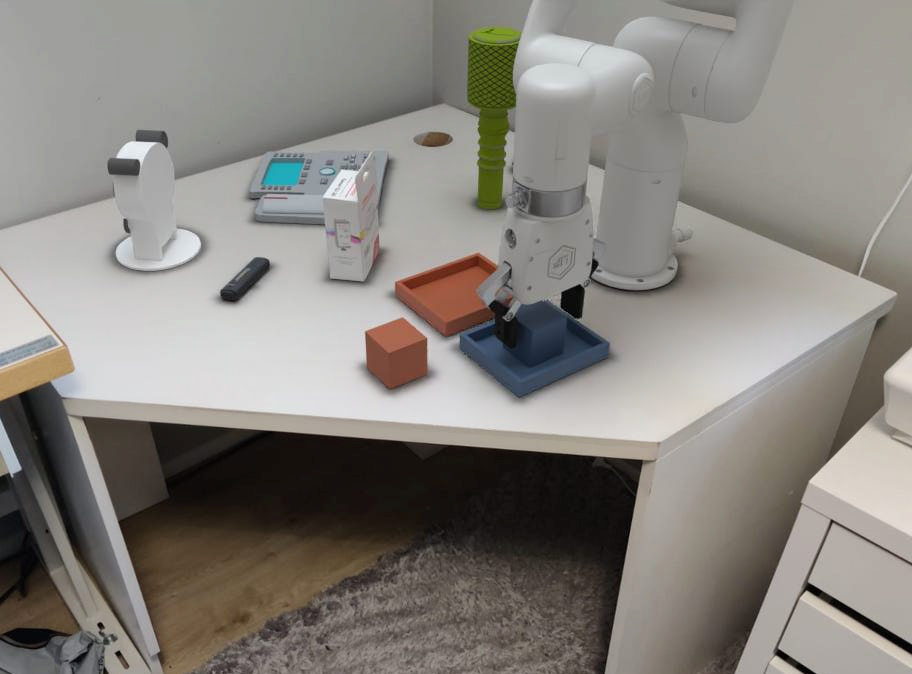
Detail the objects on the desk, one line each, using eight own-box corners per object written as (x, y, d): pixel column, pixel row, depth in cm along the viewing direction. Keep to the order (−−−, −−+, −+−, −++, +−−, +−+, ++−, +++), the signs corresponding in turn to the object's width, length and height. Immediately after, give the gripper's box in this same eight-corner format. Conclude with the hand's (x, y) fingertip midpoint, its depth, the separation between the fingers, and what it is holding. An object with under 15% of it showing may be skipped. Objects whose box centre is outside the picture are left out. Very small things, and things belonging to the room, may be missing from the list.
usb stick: (255, 263, 119) (253, 253, 118) (272, 267, 119) (271, 257, 118) (218, 299, 112) (216, 289, 111) (236, 303, 112) (235, 292, 111)
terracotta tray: (478, 265, 119) (478, 252, 118) (531, 302, 112) (532, 289, 110) (395, 295, 113) (394, 281, 112) (445, 336, 106) (445, 322, 105)
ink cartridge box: (345, 247, 123) (338, 146, 114) (380, 251, 122) (376, 149, 113) (327, 279, 116) (318, 174, 107) (364, 283, 115) (358, 177, 106)
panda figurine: (136, 225, 128) (113, 124, 118) (212, 230, 127) (195, 128, 117) (102, 268, 118) (74, 162, 109) (185, 273, 117) (164, 166, 108)
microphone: (458, 211, 131) (461, 36, 116) (472, 189, 137) (477, 20, 121) (510, 219, 129) (521, 42, 114) (523, 196, 135) (535, 26, 119)
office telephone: (375, 211, 126) (235, 208, 127) (376, 227, 128) (238, 224, 128) (388, 143, 144) (266, 140, 145) (388, 158, 146) (267, 156, 146)
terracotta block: (403, 352, 103) (402, 316, 100) (427, 374, 100) (427, 337, 97) (366, 367, 101) (364, 331, 98) (390, 389, 98) (388, 353, 95)
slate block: (535, 333, 106) (538, 297, 102) (563, 353, 102) (567, 317, 99) (502, 347, 103) (504, 311, 100) (529, 368, 100) (532, 331, 97)
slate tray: (545, 313, 110) (547, 299, 109) (608, 357, 103) (610, 343, 101) (459, 348, 104) (459, 334, 103) (519, 397, 97) (520, 383, 96)
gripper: (504, 231, 85) (499, 371, 96) (636, 182, 92) (617, 317, 103) (458, 201, 90) (458, 337, 101) (587, 156, 97) (574, 288, 108)
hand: (538, 327), depth 102 cm, fingers open, 9 cm apart
